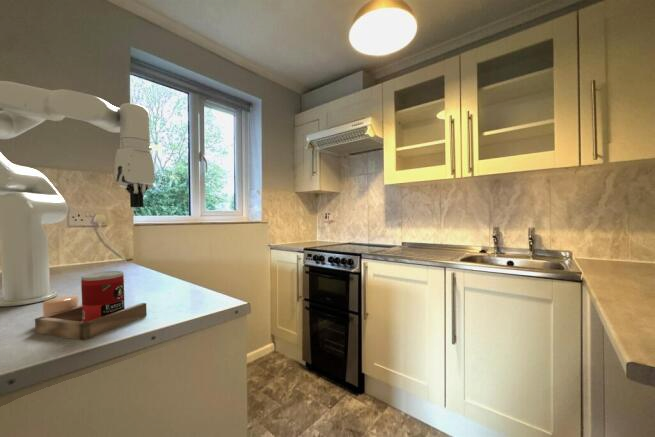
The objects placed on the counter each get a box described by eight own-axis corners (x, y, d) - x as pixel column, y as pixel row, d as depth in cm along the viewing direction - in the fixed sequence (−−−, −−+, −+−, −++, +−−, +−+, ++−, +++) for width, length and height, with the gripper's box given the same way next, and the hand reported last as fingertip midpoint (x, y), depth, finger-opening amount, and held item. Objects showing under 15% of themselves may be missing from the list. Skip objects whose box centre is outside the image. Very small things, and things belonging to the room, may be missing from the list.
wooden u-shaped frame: (35, 332, 60) (35, 318, 60) (103, 310, 73) (103, 299, 73) (83, 340, 56) (83, 325, 56) (146, 315, 70) (146, 303, 70)
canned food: (107, 327, 62) (105, 277, 62) (72, 327, 63) (71, 277, 63) (133, 315, 70) (131, 270, 70) (102, 314, 70) (100, 270, 70)
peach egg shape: (36, 324, 65) (36, 302, 65) (67, 315, 71) (66, 295, 71) (55, 326, 63) (54, 304, 63) (84, 317, 69) (84, 296, 69)
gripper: (147, 152, 95) (148, 207, 95) (100, 142, 80) (102, 206, 81) (165, 151, 93) (166, 207, 93) (121, 139, 78) (122, 206, 79)
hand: (136, 206), depth 87 cm, fingers closed
